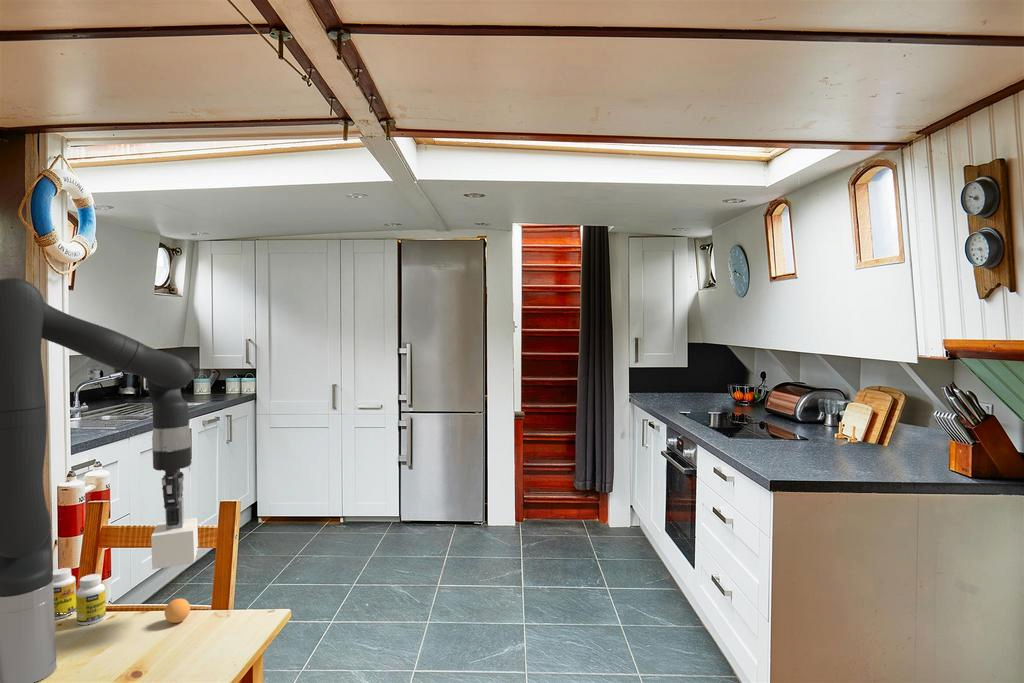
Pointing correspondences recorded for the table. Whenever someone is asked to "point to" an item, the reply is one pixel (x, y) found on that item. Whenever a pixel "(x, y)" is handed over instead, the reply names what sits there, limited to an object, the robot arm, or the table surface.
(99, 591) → the supplement bottle
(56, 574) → the supplement bottle
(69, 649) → the table surface
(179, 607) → the ball
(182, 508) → the white block
